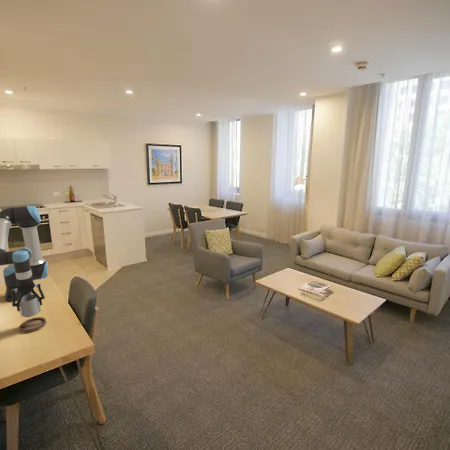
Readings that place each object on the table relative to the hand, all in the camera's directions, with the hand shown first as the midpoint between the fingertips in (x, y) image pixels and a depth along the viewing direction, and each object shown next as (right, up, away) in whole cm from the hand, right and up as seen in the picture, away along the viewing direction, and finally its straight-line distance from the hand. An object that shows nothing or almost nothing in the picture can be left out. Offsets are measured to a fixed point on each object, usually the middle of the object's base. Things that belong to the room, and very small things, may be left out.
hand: (31, 312), depth 169 cm
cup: (0, 0, 0) cm, 0 cm away
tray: (0, -9, +2) cm, 9 cm away
